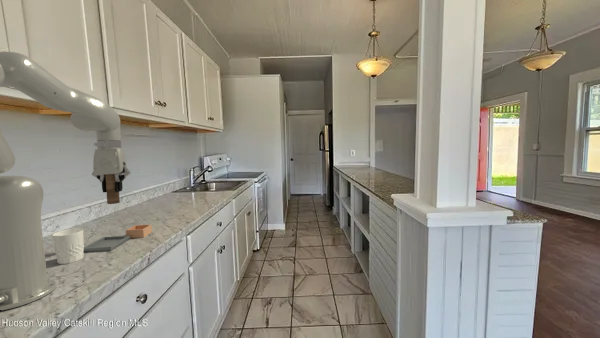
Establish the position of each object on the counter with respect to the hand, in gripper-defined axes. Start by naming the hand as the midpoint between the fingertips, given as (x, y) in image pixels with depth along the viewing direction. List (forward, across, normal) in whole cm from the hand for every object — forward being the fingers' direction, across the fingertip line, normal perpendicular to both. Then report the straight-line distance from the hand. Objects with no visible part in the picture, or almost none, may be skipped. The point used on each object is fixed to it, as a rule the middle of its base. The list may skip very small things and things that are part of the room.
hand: (112, 191), depth 98 cm
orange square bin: (+21, +4, +8) cm, 23 cm away
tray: (+22, -2, -2) cm, 22 cm away
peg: (+5, 0, 0) cm, 5 cm away
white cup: (+22, -7, -13) cm, 27 cm away
